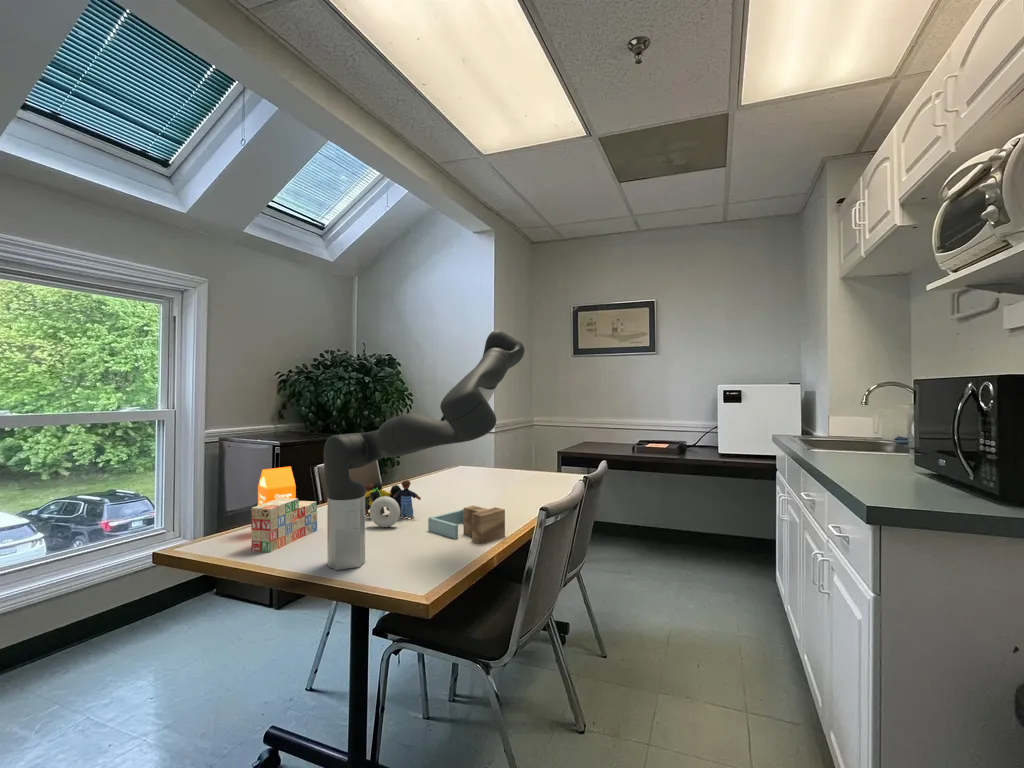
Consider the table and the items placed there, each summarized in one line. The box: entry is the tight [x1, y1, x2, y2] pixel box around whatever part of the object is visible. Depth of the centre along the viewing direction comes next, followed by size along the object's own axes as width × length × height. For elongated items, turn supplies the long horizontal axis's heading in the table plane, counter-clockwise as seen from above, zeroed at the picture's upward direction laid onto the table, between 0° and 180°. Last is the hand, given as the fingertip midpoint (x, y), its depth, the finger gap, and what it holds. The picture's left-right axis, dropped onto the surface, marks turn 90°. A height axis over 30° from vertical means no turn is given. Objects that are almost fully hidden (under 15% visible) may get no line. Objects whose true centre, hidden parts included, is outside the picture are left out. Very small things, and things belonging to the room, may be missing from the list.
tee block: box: [462, 505, 506, 544], centre depth 149 cm, size 11×10×8 cm
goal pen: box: [427, 509, 463, 540], centre depth 155 cm, size 13×14×4 cm
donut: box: [369, 496, 401, 528], centre depth 158 cm, size 10×4×10 cm, turn 84°
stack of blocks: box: [250, 497, 318, 553], centre depth 145 cm, size 21×6×12 cm, turn 167°
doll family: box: [364, 479, 422, 519], centre depth 171 cm, size 23×9×13 cm, turn 91°
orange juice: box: [257, 465, 297, 506], centre depth 154 cm, size 8×9×20 cm
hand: (453, 433), depth 145 cm, fingers open, 8 cm apart
